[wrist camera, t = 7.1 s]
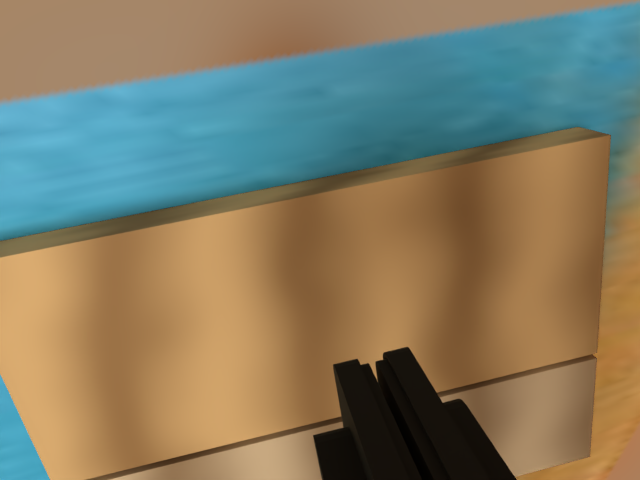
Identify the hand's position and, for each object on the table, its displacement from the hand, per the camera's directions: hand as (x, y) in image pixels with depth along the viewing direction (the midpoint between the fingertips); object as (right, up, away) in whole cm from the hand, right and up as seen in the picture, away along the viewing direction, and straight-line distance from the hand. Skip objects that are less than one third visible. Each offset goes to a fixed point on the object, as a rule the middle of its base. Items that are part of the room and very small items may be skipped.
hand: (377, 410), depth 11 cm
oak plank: (-1, +1, +11) cm, 11 cm away
